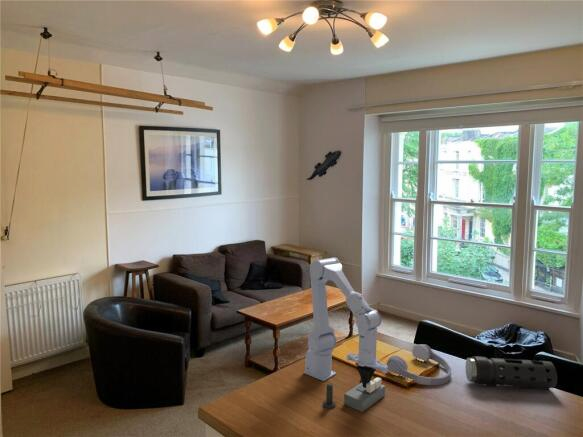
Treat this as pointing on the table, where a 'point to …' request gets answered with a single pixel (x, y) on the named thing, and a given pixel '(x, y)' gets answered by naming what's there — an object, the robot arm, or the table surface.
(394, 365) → the headphones
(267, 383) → the table surface
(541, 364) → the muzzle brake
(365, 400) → the block
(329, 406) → the post
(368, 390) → the block
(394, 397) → the table surface
